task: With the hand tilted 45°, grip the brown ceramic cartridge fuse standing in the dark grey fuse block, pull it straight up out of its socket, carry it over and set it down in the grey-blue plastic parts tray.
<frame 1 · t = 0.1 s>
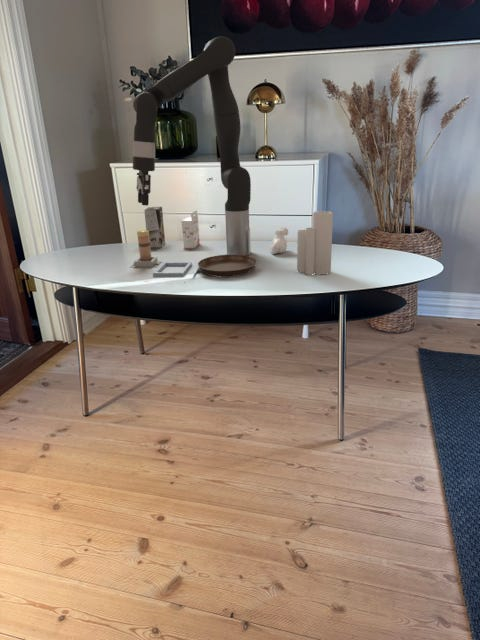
hand: (143, 204, 171), 22 cm above the table, tool pointing down, fingers open, 8 cm apart
bust: (278, 252, 191), on the table
fuse block: (146, 268, 174), on the table
ink cartridge box: (191, 246, 207), on the table
coffee box: (157, 245, 210), on the table
fuse: (146, 264, 174), point 1 cm above the table, touching fuse block
vase: (313, 273, 163), on the table
parts tray: (173, 274, 166), on the table
plant saucer: (227, 271, 169), on the table
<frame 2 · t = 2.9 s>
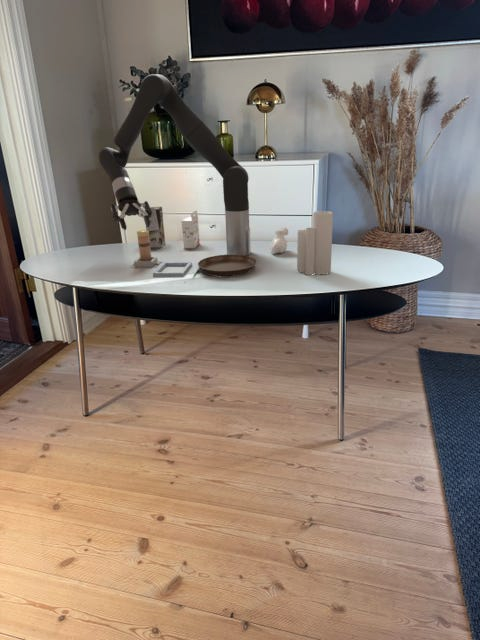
hand: (137, 227, 175), 14 cm above the table, tool tilted 45°, fingers open, 8 cm apart
nothing on the table moved.
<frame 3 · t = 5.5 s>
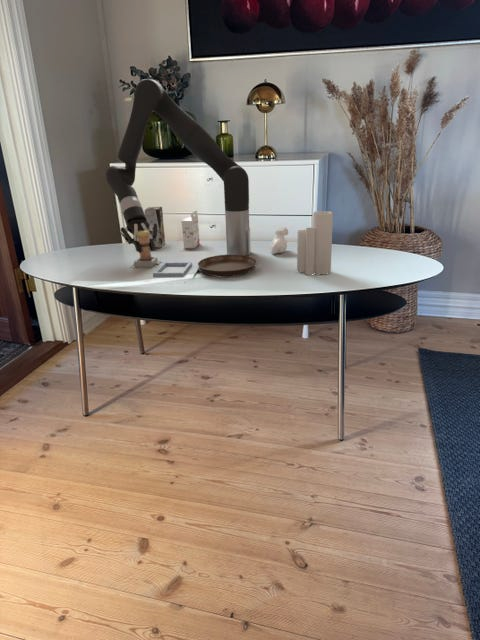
hand: (146, 250, 170), 7 cm above the table, tool tilted 45°, fingers closed on fuse, 4 cm apart
fuse: (146, 264, 174), point 2 cm above the table, touching fuse block, gripper
everything else where it was.
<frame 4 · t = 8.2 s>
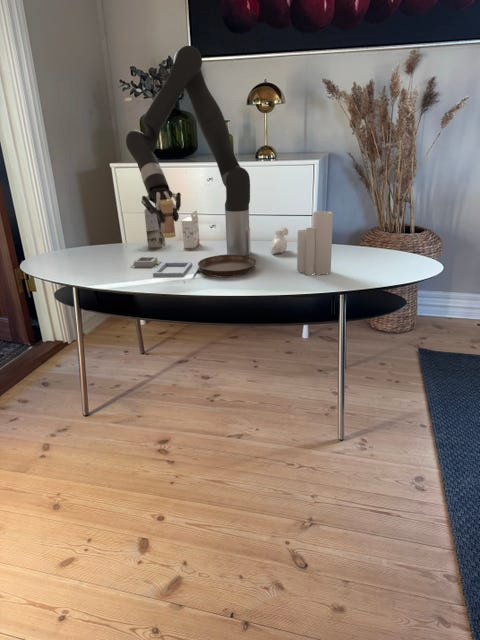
hand: (170, 220, 158), 19 cm above the table, tool tilted 45°, fingers closed on fuse, 4 cm apart
fuse: (169, 236, 161), point 13 cm above the table, touching gripper
everything else where it was.
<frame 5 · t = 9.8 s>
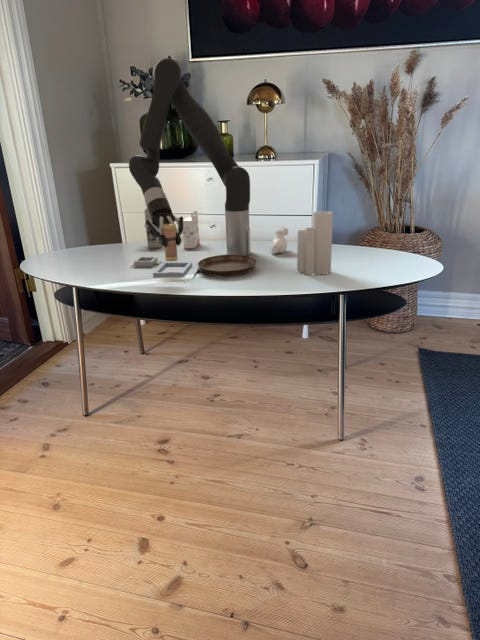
hand: (172, 244, 160), 11 cm above the table, tool tilted 45°, fingers closed on fuse, 4 cm apart
fuse: (171, 259, 164), point 5 cm above the table, touching gripper
everything else where it was.
when the fingers open (8 cm above the table, at t = 10.8 s): fuse drops 1 cm, resting on parts tray.
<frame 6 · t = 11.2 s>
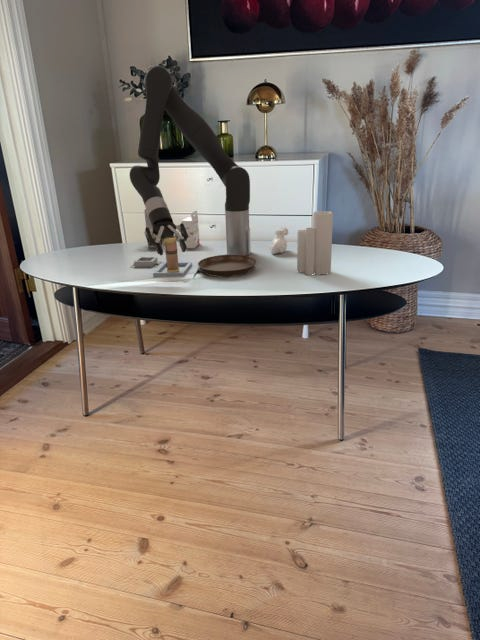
hand: (173, 252, 161), 8 cm above the table, tool tilted 45°, fingers open, 7 cm apart
fuse: (173, 272, 165), point 1 cm above the table, touching parts tray
everything else where it was.
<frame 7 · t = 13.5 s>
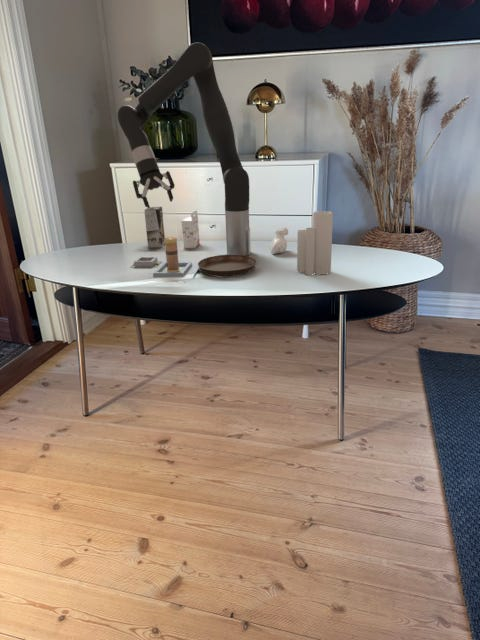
hand: (160, 204, 174), 22 cm above the table, tool tilted 25°, fingers open, 8 cm apart
nothing on the table moved.
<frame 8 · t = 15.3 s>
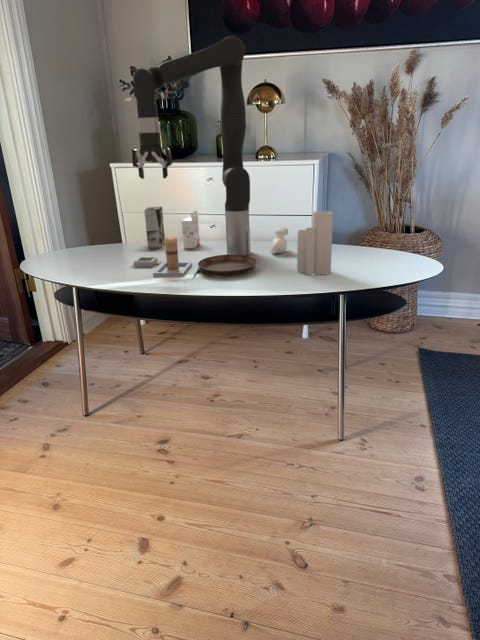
hand: (153, 178, 178), 30 cm above the table, tool pointing down, fingers open, 8 cm apart
nothing on the table moved.
at the end: fuse inside the target area on the parts tray (0.1 cm from its centre), point 0.7 cm above the parts tray's base; the gripper is holding nothing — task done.
